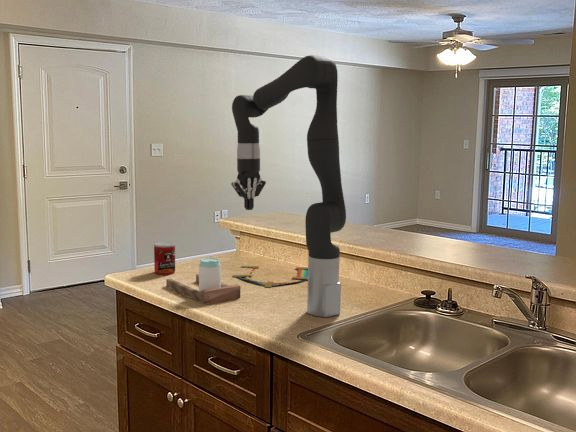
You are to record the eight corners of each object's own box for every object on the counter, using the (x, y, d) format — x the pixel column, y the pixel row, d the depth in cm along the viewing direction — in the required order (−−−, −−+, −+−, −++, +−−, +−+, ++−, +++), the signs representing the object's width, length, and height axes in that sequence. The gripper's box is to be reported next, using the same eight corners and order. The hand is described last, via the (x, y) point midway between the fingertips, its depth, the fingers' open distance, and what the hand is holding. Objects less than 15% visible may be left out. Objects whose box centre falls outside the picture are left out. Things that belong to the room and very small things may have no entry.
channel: (240, 297, 199) (240, 285, 198) (205, 304, 191) (205, 291, 190) (199, 280, 219) (199, 269, 218) (166, 286, 211) (166, 274, 210)
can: (225, 295, 201) (225, 259, 199) (211, 300, 195) (210, 263, 194) (209, 291, 205) (209, 256, 203) (194, 296, 199) (194, 260, 197)
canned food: (158, 276, 225) (158, 246, 223) (151, 271, 232) (151, 242, 230) (178, 273, 229) (178, 244, 227) (171, 269, 235) (170, 241, 234)
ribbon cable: (308, 290, 210) (314, 269, 239) (308, 287, 210) (314, 266, 239) (224, 288, 213) (240, 267, 242) (224, 285, 213) (240, 264, 242)
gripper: (238, 158, 195) (239, 212, 198) (271, 157, 204) (271, 209, 206) (225, 157, 201) (226, 210, 203) (257, 156, 209) (258, 207, 212)
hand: (249, 209), depth 205 cm, fingers closed
